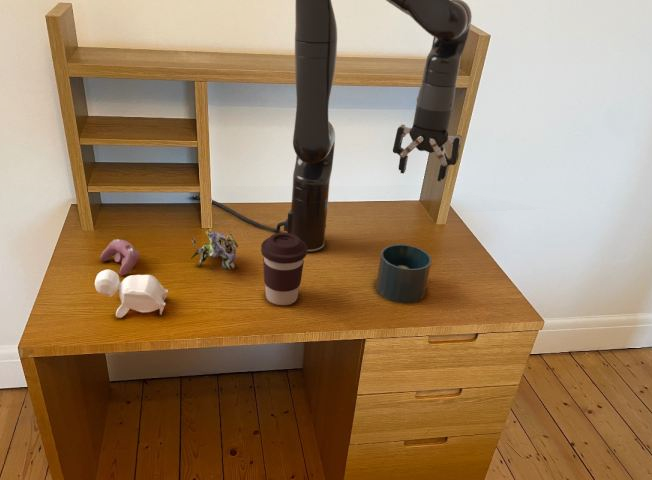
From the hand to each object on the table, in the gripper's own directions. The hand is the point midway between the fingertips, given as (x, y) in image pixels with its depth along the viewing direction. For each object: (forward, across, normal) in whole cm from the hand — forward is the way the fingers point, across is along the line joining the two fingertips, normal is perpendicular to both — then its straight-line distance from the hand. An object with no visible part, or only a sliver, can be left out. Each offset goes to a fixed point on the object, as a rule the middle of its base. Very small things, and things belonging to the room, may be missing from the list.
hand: (420, 176), depth 133 cm
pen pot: (+26, -2, +8) cm, 27 cm away
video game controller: (+26, +62, +30) cm, 74 cm away
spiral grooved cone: (+25, -2, +8) cm, 26 cm away
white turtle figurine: (+26, +49, +43) cm, 70 cm away
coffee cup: (+26, +22, +25) cm, 42 cm away
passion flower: (+26, +42, +20) cm, 53 cm away
